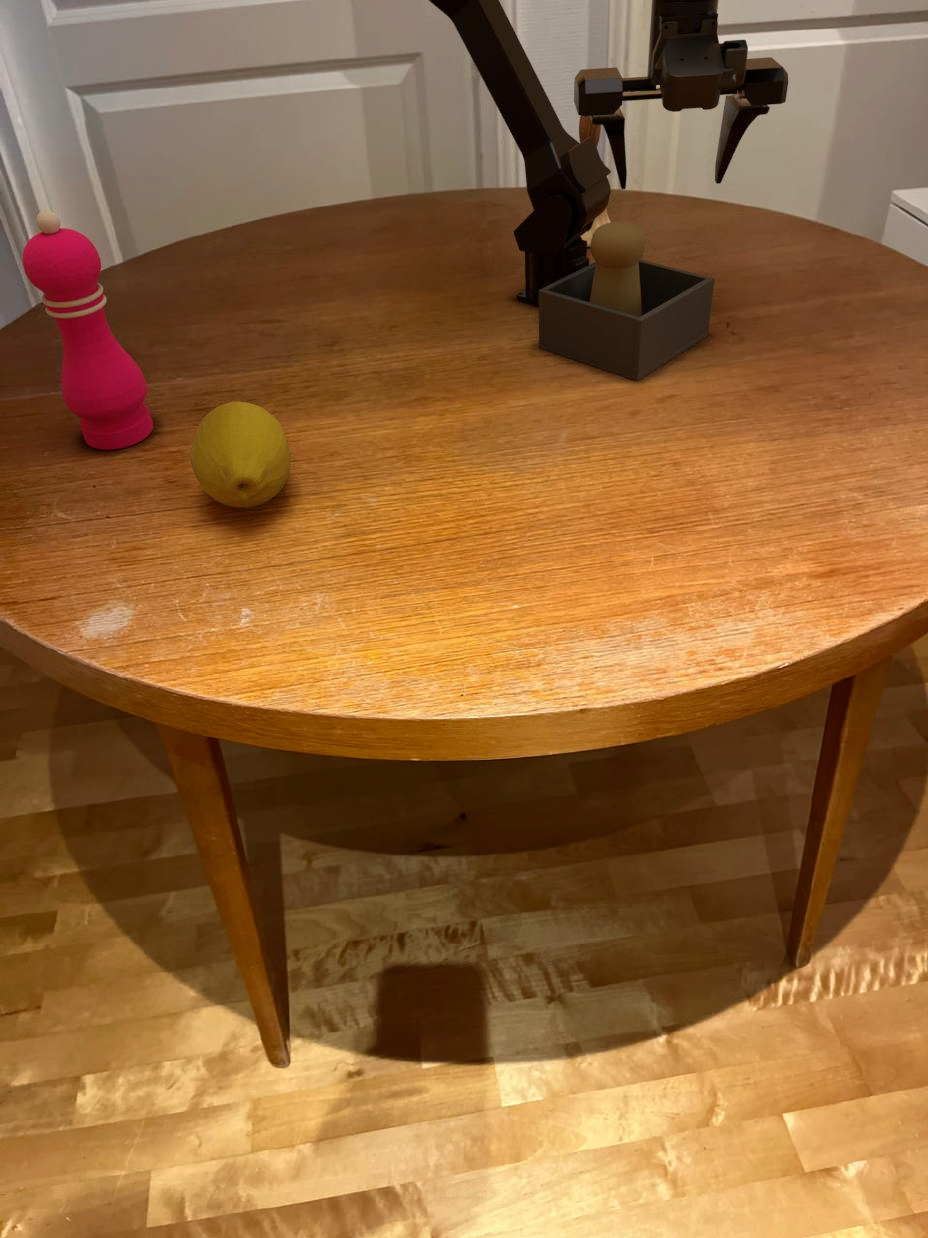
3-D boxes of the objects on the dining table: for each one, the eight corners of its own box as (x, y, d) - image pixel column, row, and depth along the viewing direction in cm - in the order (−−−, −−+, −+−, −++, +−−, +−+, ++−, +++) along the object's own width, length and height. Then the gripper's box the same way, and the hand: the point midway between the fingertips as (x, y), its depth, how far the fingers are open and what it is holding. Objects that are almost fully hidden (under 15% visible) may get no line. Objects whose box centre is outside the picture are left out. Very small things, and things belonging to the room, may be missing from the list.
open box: (538, 347, 97) (538, 290, 93) (611, 307, 103) (613, 252, 99) (637, 381, 90) (641, 320, 86) (708, 336, 96) (714, 277, 92)
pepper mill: (87, 461, 85) (3, 233, 71) (73, 427, 90) (-9, 208, 76) (167, 438, 87) (99, 213, 74) (149, 406, 92) (82, 190, 79)
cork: (649, 326, 98) (657, 216, 90) (636, 352, 93) (643, 238, 86) (592, 321, 99) (595, 213, 92) (577, 346, 95) (579, 234, 88)
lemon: (215, 467, 82) (192, 383, 77) (304, 461, 82) (287, 377, 77) (191, 541, 74) (164, 452, 69) (290, 534, 74) (271, 445, 69)
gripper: (586, 19, 77) (581, 218, 87) (819, 4, 76) (787, 206, 86) (575, -2, 85) (572, 181, 95) (784, -17, 84) (759, 170, 95)
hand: (670, 185), depth 93 cm, fingers open, 9 cm apart
